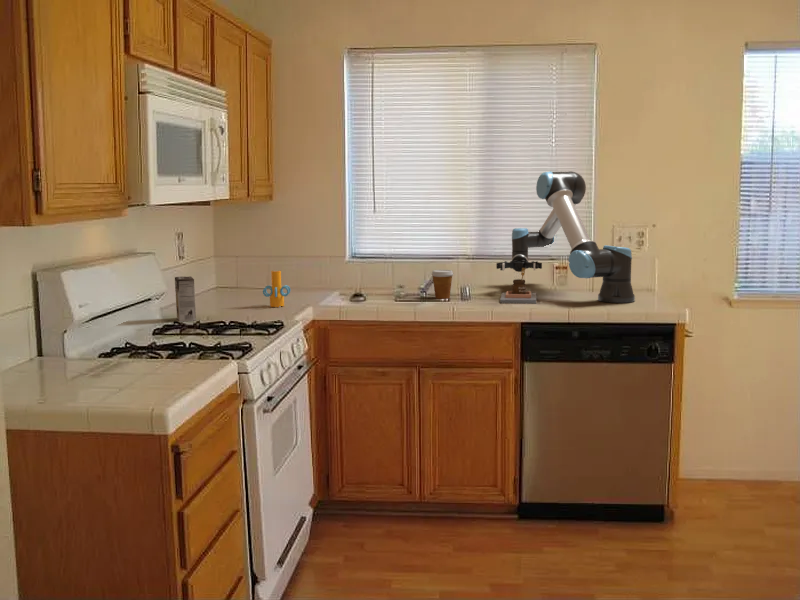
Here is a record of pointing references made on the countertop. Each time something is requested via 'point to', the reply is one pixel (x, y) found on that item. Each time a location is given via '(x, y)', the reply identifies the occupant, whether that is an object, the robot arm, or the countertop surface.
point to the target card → (518, 298)
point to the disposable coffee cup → (442, 283)
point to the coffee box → (185, 298)
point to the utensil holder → (519, 285)
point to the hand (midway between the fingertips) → (518, 267)
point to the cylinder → (276, 290)
